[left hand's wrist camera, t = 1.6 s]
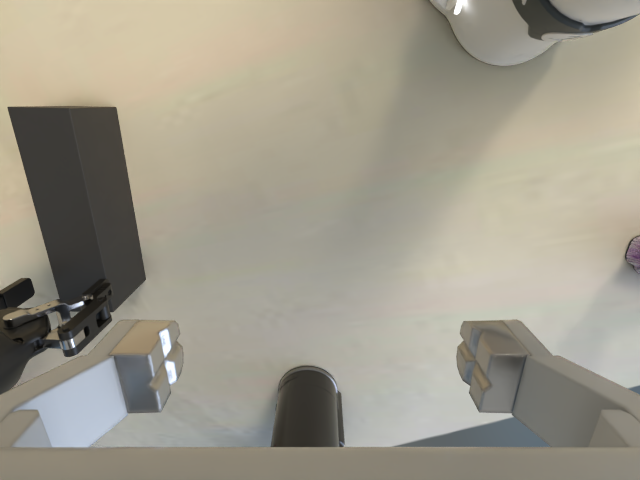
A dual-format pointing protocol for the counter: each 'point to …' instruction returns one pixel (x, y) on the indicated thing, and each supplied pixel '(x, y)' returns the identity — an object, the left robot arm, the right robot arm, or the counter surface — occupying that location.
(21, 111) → the box
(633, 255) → the figurine
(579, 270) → the counter surface
